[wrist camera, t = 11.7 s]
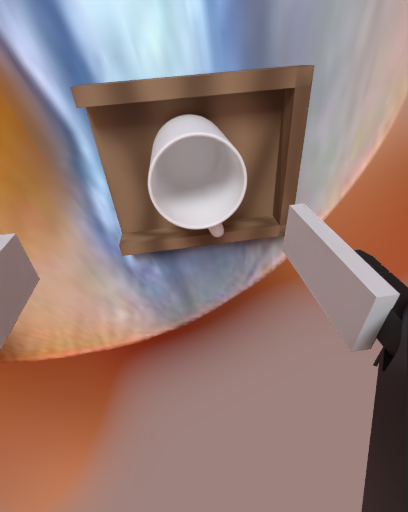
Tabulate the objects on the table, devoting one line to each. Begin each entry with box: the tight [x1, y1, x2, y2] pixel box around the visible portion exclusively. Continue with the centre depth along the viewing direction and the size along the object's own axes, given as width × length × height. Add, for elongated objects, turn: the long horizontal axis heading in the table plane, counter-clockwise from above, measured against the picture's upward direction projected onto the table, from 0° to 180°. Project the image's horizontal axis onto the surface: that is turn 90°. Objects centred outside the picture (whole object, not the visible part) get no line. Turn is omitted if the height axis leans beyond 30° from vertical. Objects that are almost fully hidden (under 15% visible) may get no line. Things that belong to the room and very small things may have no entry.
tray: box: [70, 65, 314, 256], centre depth 31 cm, size 22×18×4 cm
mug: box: [148, 114, 247, 237], centre depth 27 cm, size 12×8×10 cm
